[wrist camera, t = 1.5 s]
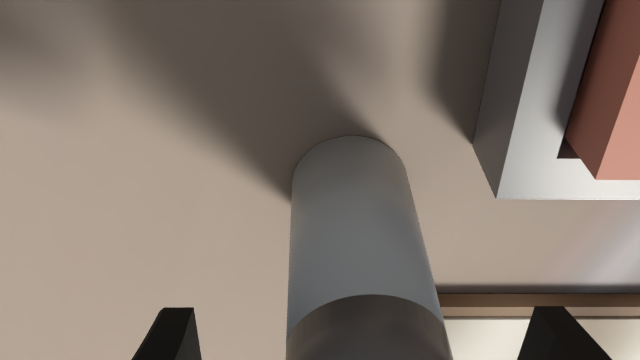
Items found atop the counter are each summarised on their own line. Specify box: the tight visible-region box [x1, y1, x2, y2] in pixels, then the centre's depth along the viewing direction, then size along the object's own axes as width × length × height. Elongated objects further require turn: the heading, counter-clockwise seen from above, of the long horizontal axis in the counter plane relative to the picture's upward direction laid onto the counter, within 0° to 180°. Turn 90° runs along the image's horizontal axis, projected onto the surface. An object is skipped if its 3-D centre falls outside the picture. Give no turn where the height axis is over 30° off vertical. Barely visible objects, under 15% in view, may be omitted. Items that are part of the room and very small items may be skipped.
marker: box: [286, 136, 453, 360], centre depth 14 cm, size 3×3×8 cm
